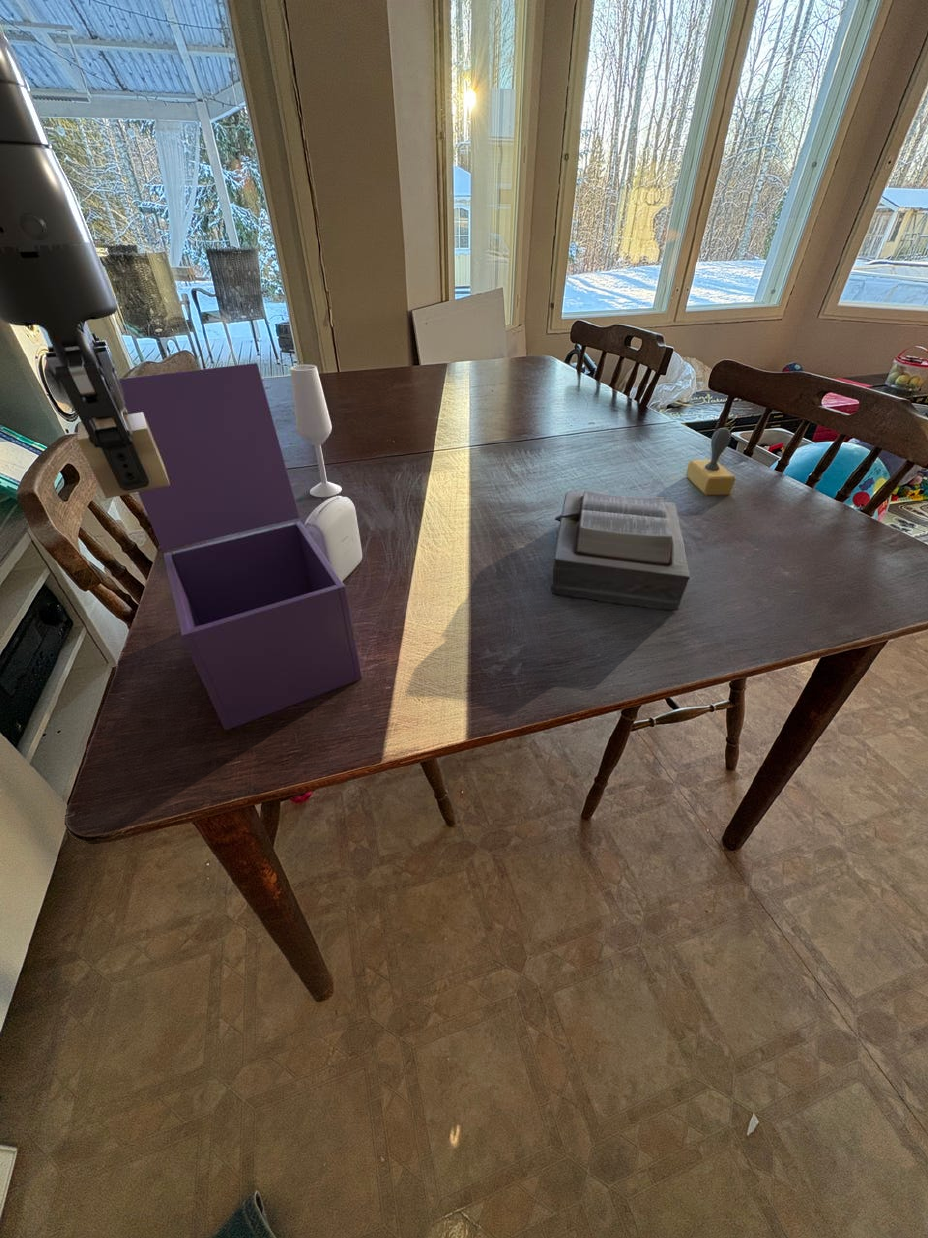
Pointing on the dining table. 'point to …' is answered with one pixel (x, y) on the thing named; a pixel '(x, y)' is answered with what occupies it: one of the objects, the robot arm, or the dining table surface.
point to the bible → (620, 550)
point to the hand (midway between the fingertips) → (134, 474)
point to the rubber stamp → (712, 468)
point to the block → (143, 447)
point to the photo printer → (336, 534)
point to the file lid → (212, 454)
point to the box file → (263, 621)
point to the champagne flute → (312, 419)
